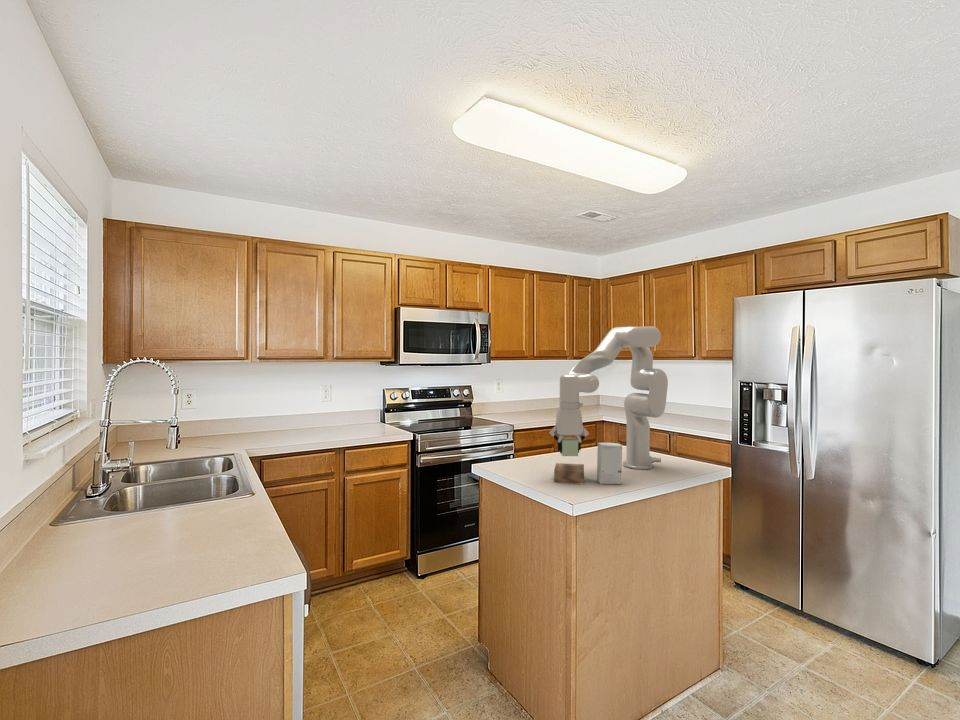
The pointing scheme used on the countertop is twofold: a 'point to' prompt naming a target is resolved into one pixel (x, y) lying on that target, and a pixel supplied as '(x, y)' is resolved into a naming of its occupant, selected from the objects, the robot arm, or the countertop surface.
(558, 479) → the walnut block
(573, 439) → the sage cube
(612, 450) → the skincare box
